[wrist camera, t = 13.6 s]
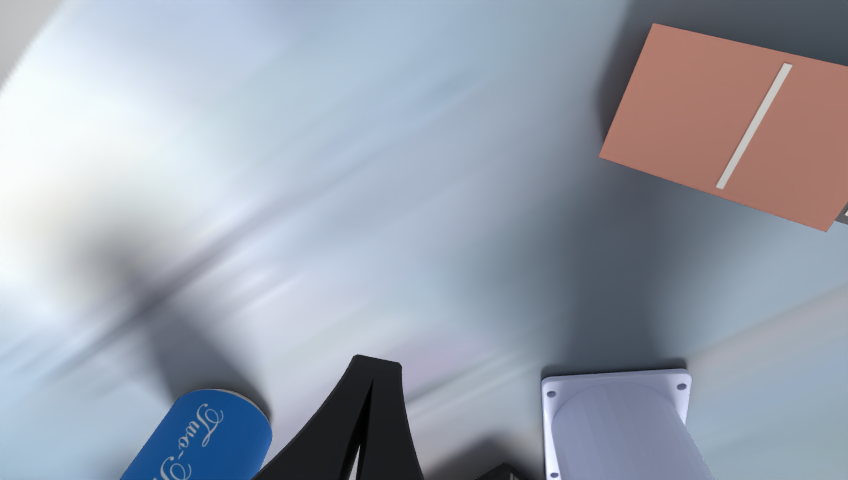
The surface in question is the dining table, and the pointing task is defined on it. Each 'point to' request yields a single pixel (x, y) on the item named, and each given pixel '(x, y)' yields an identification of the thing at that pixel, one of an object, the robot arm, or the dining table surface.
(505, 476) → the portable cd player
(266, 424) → the beverage can
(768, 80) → the salmon end domino
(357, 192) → the dining table surface
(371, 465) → the robot arm
